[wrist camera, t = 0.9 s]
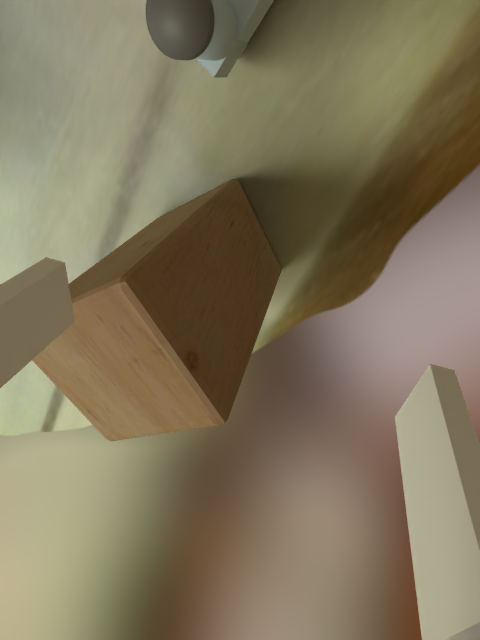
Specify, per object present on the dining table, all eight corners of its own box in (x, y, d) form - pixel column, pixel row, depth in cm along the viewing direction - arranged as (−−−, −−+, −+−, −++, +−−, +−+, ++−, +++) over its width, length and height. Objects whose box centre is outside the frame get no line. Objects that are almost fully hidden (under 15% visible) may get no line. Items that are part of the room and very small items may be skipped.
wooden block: (238, 175, 32) (123, 278, 16) (283, 270, 36) (228, 427, 20) (155, 219, 36) (1, 332, 20) (203, 298, 40) (107, 445, 24)
